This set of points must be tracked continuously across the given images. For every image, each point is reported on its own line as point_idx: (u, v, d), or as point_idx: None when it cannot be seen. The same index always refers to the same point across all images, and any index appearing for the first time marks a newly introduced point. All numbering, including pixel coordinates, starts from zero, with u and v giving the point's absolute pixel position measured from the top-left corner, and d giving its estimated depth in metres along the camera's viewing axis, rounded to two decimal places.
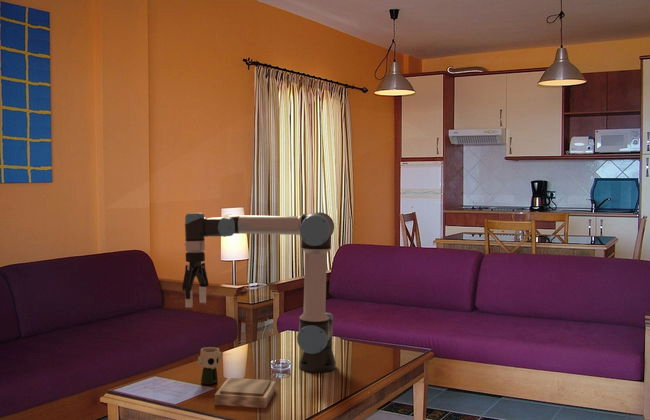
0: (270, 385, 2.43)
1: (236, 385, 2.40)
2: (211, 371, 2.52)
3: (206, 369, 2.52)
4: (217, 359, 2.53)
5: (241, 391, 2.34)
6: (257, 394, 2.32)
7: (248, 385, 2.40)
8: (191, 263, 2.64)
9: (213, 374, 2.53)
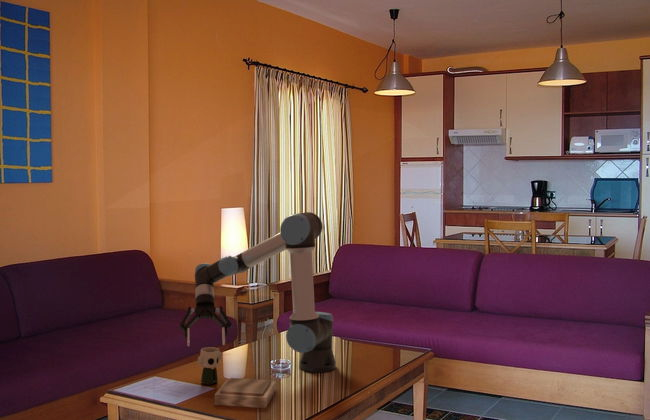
0: (270, 385, 2.43)
1: (236, 385, 2.40)
2: (211, 371, 2.52)
3: (206, 369, 2.52)
4: (217, 359, 2.53)
5: (241, 391, 2.34)
6: (257, 394, 2.32)
7: (248, 385, 2.40)
8: (195, 307, 2.71)
9: (213, 374, 2.53)
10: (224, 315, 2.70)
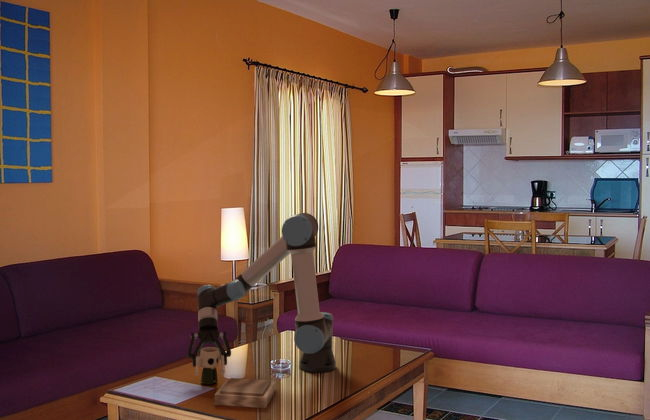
0: (270, 385, 2.43)
1: (236, 385, 2.40)
2: (211, 371, 2.52)
3: (206, 369, 2.52)
4: (217, 359, 2.53)
5: (241, 391, 2.34)
6: (257, 394, 2.32)
7: (248, 385, 2.40)
8: (198, 332, 2.62)
9: (213, 374, 2.53)
10: (226, 341, 2.60)
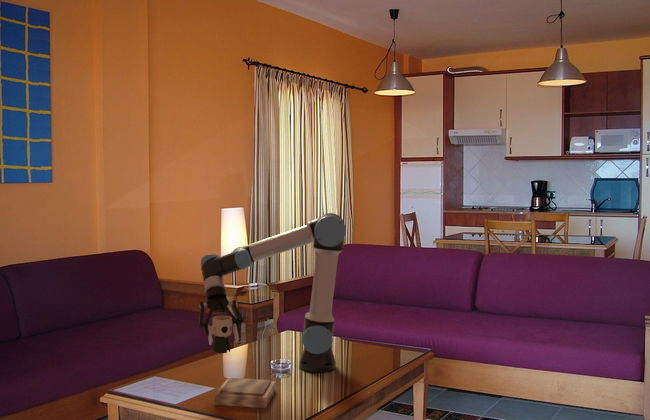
0: (270, 385, 2.43)
1: (236, 385, 2.40)
2: (224, 340, 2.45)
3: (219, 338, 2.45)
4: (230, 327, 2.46)
5: (241, 391, 2.34)
6: (257, 394, 2.32)
7: (248, 385, 2.40)
8: None
9: (226, 343, 2.45)
10: (236, 310, 2.53)
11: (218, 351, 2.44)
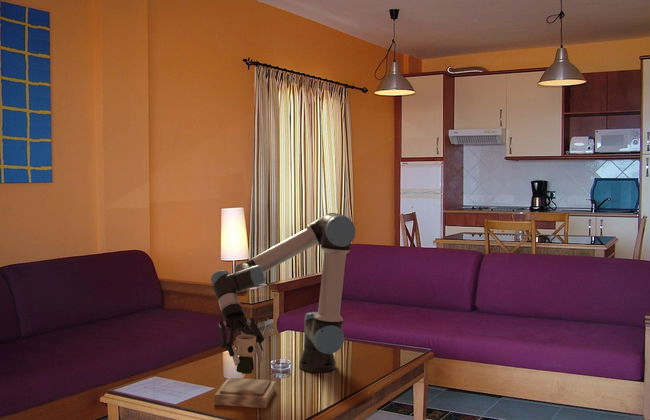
0: (270, 385, 2.43)
1: (236, 385, 2.40)
2: (250, 359, 2.37)
3: (244, 358, 2.37)
4: (254, 346, 2.39)
5: (241, 391, 2.34)
6: (257, 394, 2.32)
7: (248, 385, 2.40)
8: (224, 319, 2.44)
9: (251, 362, 2.38)
10: (256, 328, 2.46)
11: (243, 372, 2.36)
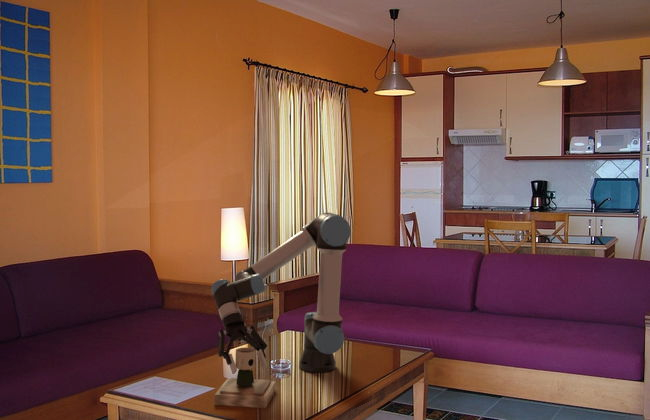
0: (270, 385, 2.43)
1: (236, 385, 2.40)
2: (250, 373, 2.37)
3: (244, 371, 2.37)
4: None
5: (241, 391, 2.34)
6: (257, 394, 2.32)
7: None
8: (225, 328, 2.44)
9: (251, 375, 2.38)
10: (257, 335, 2.47)
11: (244, 385, 2.36)
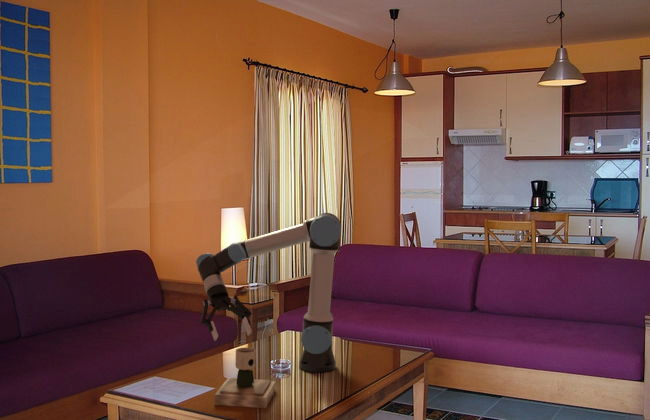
0: (270, 385, 2.43)
1: (236, 385, 2.40)
2: (250, 373, 2.37)
3: (244, 371, 2.37)
4: None
5: (241, 391, 2.34)
6: (257, 394, 2.32)
7: None
8: (210, 299, 2.55)
9: (251, 375, 2.38)
10: (241, 305, 2.58)
11: (244, 385, 2.36)
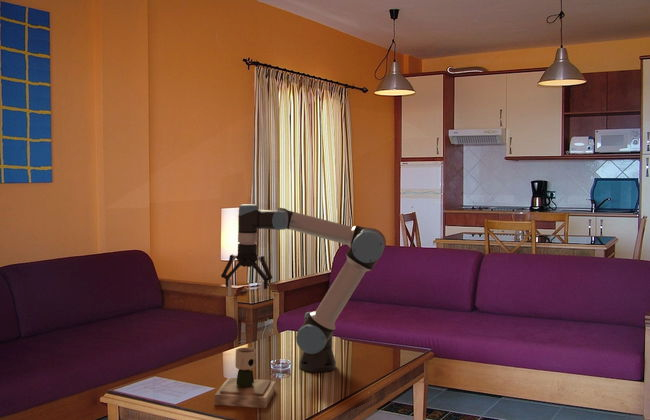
0: (270, 385, 2.43)
1: (236, 385, 2.40)
2: (250, 373, 2.37)
3: (244, 371, 2.37)
4: None
5: (241, 391, 2.34)
6: (257, 394, 2.32)
7: None
8: None
9: (251, 375, 2.38)
10: (264, 267, 2.65)
11: (244, 385, 2.36)
